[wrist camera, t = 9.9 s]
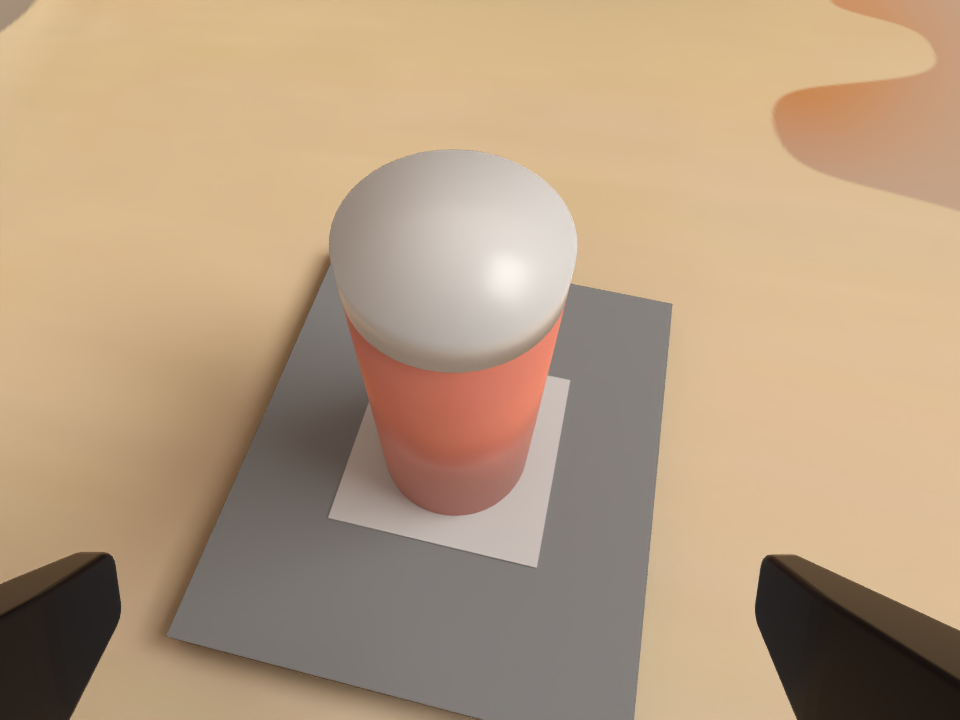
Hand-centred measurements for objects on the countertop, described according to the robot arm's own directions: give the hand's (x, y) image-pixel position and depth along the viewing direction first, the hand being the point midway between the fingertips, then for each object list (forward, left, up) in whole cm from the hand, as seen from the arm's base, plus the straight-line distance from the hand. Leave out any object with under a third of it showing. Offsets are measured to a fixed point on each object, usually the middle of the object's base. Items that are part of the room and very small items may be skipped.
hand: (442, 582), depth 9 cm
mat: (+7, +1, -13) cm, 15 cm away
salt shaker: (+7, +1, -12) cm, 14 cm away
